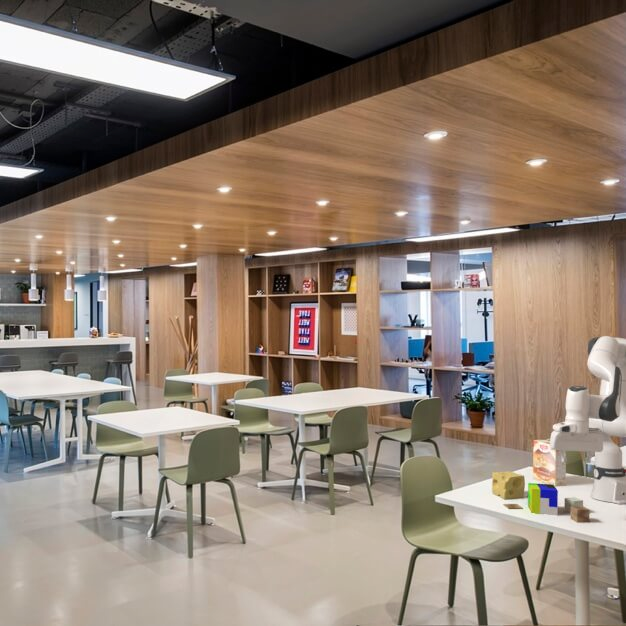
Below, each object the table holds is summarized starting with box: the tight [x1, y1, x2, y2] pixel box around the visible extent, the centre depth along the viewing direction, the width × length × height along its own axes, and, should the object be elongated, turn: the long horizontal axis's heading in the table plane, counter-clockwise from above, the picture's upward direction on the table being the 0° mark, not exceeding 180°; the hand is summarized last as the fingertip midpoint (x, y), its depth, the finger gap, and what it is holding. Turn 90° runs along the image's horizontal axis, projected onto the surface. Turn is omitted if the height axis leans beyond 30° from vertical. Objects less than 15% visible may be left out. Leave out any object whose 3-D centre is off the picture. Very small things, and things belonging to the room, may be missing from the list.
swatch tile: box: [502, 503, 524, 510], centre depth 263 cm, size 6×6×1 cm
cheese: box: [491, 470, 526, 500], centre depth 281 cm, size 10×11×10 cm
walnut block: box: [570, 505, 590, 523], centre depth 246 cm, size 5×5×5 cm
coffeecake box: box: [532, 439, 567, 487], centre depth 307 cm, size 15×7×20 cm, turn 23°
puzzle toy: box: [527, 482, 559, 516], centre depth 258 cm, size 10×10×10 cm
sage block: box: [563, 496, 584, 513], centre depth 259 cm, size 5×5×5 cm
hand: (576, 462), depth 249 cm, fingers open, 8 cm apart
